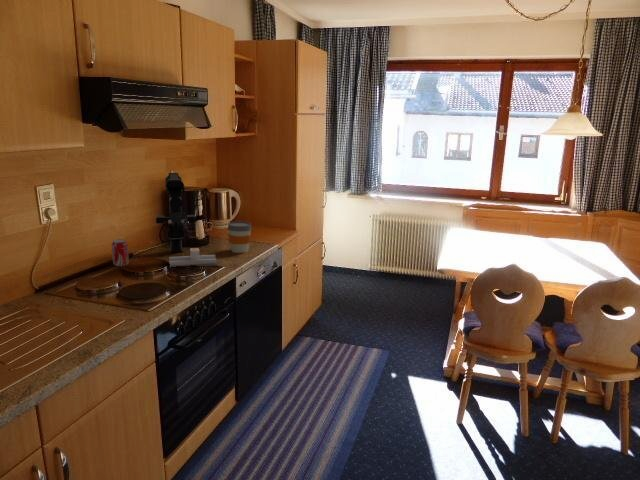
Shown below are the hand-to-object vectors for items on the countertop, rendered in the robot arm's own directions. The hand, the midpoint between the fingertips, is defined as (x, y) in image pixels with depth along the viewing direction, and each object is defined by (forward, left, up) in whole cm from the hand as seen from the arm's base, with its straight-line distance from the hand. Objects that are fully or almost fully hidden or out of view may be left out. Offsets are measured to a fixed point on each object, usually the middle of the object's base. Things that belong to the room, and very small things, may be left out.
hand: (176, 235), depth 234 cm
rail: (+10, +7, -12) cm, 17 cm away
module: (+10, +8, -11) cm, 17 cm away
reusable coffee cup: (-10, +33, -12) cm, 37 cm away
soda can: (+5, -26, -12) cm, 29 cm away
